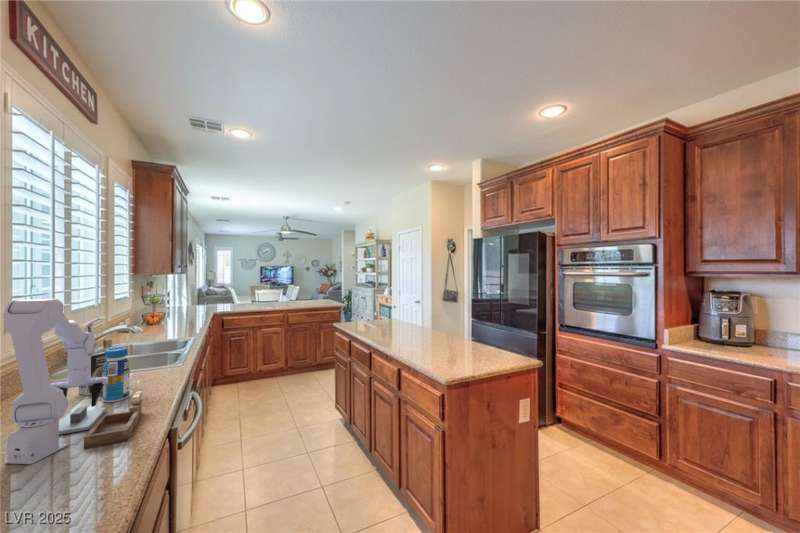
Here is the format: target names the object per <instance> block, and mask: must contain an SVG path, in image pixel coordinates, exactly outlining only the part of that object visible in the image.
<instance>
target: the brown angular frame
mask: <svg viewBox="0 0 800 533" xmlns="http://www.w3.org/2000/svg"><path fill="white" fill-rule="evenodd" d="M142 403H143V400H142V399H141V400H140V402H139V403H138V404H132V403H131V405H130V407H129V411H122V412H117V413H116V412H115V413H110V414H102V415H101V416H100V418H99V419H98V420H97V421H96V422H95V423H94V425H93V426H92V427H91V428H90V429H89V431H88V432H87V433H86V434H85V436H84V437H83V450H87V449H92V448H98V447H99V448H100V447H104V446H109V445H114V444H118V443H125V442H128V441H129V439H130V437H131V435H132V434H133V433H134V431H135V429H136V428H137V425H138V424H139V422H140V421H141V415H142V412H143V411H142V410H143V409H142V408H143V404H142Z"/></svg>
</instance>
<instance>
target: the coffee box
mask: <svg viewBox="0 0 800 533" xmlns="http://www.w3.org/2000/svg"><path fill="white" fill-rule="evenodd" d="M105 352H106V350H105V351H104V350H101V351H96V352H92V353H91V378H93V377H103V376H102V375H103V372H104V369H103V366H104V364H105V362H106V361H107V360H108V359H106V357H105ZM92 386H93V385H87V386H79V387H78V392H77V393H78V395H81V394H82V396H92V394H91V387H92ZM101 392H102V393H103V387H102V389H101V391H100V393H101Z"/></svg>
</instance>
